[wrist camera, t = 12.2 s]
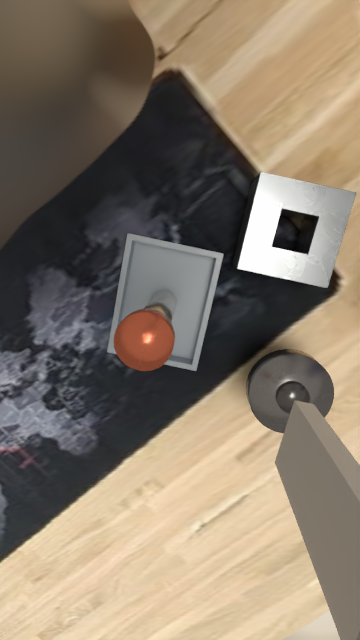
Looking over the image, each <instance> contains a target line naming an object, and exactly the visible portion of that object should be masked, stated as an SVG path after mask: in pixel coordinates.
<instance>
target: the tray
mask: <svg viewBox="0 0 360 640" xmlns="http://www.w3.org/2000/svg"><path fill="white" fill-rule="evenodd" d="M222 259H223V254H222V253H218V252H213V251H208V250H204V249H199V248H194V247H190V246H185V245H181V244H176V243H171V242H167V241H162V240H157V239H153V238H148V237H143V236H139V235H134V234H129V233H127V239H126V245H125V251H124V257H123V263H122V268H121V274H120V280H119V286H118V292H117V298H116V303H115V309H114V315H113V321H112V327H111V333H110V339H109V344H108V350H107V352H109V353H114V354H117V353H116V351H115V348H114V334H115V331H116V328H117V327H118V325H119V324H120V322H121V321H122V320H123V319H124V318H125V317H126V316H127V315H129V314H130V313H132V312H133V311H136V310H139V309H144V307H145V306H146V305H147V304H148V303H149V301H150V300H151V299H152V298H153V296H154V295H155V294H156V293H157V292H159V291H161V290H168V291H171V292H172V293H173V294H174V295H175V296H176V299H177V306H176V309H175V312H174V316H173V319H172V323H171V324H172V326H173V328H174V332H175V342H174V347H173V351H172V354H171V356H170V358H169V359H168V360H167V362H166V363H164V364H165V365H170V366H175V367H179V368H184V369H189V370H193V371H196V370H197V366H198V361H199V357H200V353H201V348H202V344H203V340H204V336H205V331H206V327H207V323H208V319H209V314H210V310H211V306H212V301H213V297H214V293H215V289H216V284H217V280H218V276H219V272H220V267H221V263H222Z"/></svg>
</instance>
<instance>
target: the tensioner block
mask: <svg viewBox="0 0 360 640" xmlns="http://www.w3.org/2000/svg"><path fill="white" fill-rule="evenodd" d="M355 196H356V192H351V191H347V190H342V189H338V188H333V187H328V186H324V185H319V184H314V183H310V182H305V181H301V180H296V179H291V178H287V177H282V176H278V175H273V174H268V173H264V172H260V173H259V175H258V176H257V177H256V178H255V179H254V180H253V181H252V183H251V187H250V192H249V196H248V200H247V204H246V208H245V212H244V217H243V221H242V225H241V229H240V233H239V237H238V241H237V246H236V250H235V254H234V258H233V262H232V266H233V267H235V268H237V269H241V270H246V271H250V272H255V273H260V274H264V275H269V276H274V277H278V278H283V279H288V280H292V281H297V282H302V283H306V284H311V285H316V286H320V287H325V288H327V287H328V284H329V281H330V278H331V274H332V271H333V268H334V264H335V261H336V258H337V255H338V251H339V248H340V245H341V242H342V238H343V235H344V232H345V229H346V225H347V222H348V219H349V215H350V212H351V209H352V206H353V202H354V199H355ZM280 216H285V217H289V218H294V219H299V220H303V221H302V224H301V228H300V231H299V235H298V239H297V242H296V246H295V249H294V251H289V250H284V249H280V248H275V247H272V243H273V240H274V236H275V232H276V228H277V224H278V220H279V217H280Z"/></svg>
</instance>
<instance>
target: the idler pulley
mask: <svg viewBox="0 0 360 640" xmlns="http://www.w3.org/2000/svg"><path fill="white" fill-rule="evenodd" d="M246 394H247V398H248V401H249V404H250V406H251V409H252V412H253V413H254V415H255V417H256V418H257V419H258V420H259V421H260V422H261V423H262V424H263V425H264V426H266V427H267V428H269V429H271V430H273V431H276V432H280V433H284V432H285V428H286V425H287V422H288V419H289V416H290V412H291V409H292V406H293V403H294V400H296V401H301V402H306V403H310V404H314V405H315V406H316V408H317V409H318V410H319V412H320V413H321V414H322V416H323V417H324V418H325V416H326V415H327V414H328V412H329V410H330V408H331V406H332V403H333V398H334V387H333V383H332V380H331V377H330V375H329V374H328V372H327V371H326V370H325V369H324V368H323V367H322V366H321V365H320V364H319V363H318V362H317V361H316V360H315V359H314V358H313V357H311V356H310V355H308V354H306V353H304V352H301V351H298V350H292V349H284V350H278V351H274V352H272V353H269V354H267V355H265V356H264V357H262V358H261V359H260V360H259V361H258V362H257V363H256V364H255V365H254V366H253V368H252V369H251V371H250V373H249V375H248V378H247V383H246Z"/></svg>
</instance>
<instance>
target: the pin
mask: <svg viewBox="0 0 360 640" xmlns="http://www.w3.org/2000/svg"><path fill="white" fill-rule="evenodd" d="M176 306H177V299H176V296H175V295H174V294H173V293H172V292H171V291H168V290H161V291H159V292H157V293H156V294H155V295H154V296H153V298H152V299H151V300H150V301H149V303H148V304H147V305H146V306H145V307H144V309H139V310H136V311H133V312H132V313H130V314H129V315H127V316H126V317H125V318H124V319H123V320H122V321H121V322H120V324H119V325H118V327H117V328H116V331H115V334H114V348H115V351H116V353H117V355H118V357H119V358H120V360H121V361H122V362H123V363H124V364H126V365H127V366H129V367H130V368H133V369H135V370H139V371H150V370H154V369H157V368H159V367H161V366H162V365H163V364H164V363H166V362H167V360H168V359H169V358H170V356H171V354H172V351H173V347H174V342H175V332H174V328H173V326H172V324H171V323H172V319H173V316H174V312H175V309H176Z"/></svg>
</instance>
